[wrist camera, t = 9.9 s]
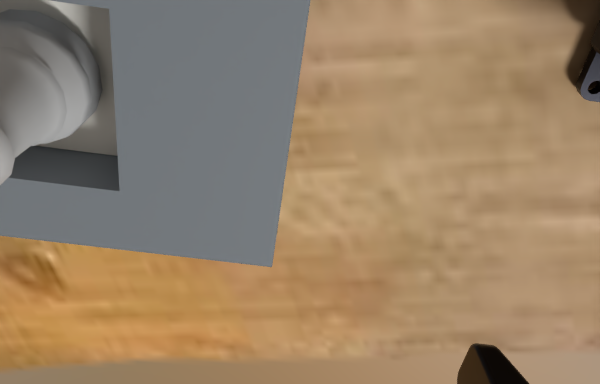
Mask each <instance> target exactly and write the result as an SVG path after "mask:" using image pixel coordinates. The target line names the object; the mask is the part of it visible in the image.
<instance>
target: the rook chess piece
mask: <svg viewBox="0 0 600 384" xmlns="http://www.w3.org/2000/svg"><path fill="white" fill-rule="evenodd" d="M102 90H103V89H102V83H101V76H100V69H99V65H98V64H97V62H96V60H95V58H94V57H93V55H92V53H91V51H90V50H89V48H88V46H87V44H86V43H85V42H84V41H83V40H82V39H81V38H80V37H79V36H78V35H76V34H75V33H74V32H73V31H72V30H71V29H70V28H69V27H68V26H66V25H65V24H64V23H63V22H60V21H58V20H56V19H54V18H51V17H49V16H47V15H45V14H42V13H40V12H38V11H29V10H14V9H9V10H6V11H3V12H1V13H0V185H1V184H2V183H3V182H4V181H5V180H6V179H7V178H8V177H9V176H10V175H11V174H12V169H13V165H14V161H15V158H16V157H17V156H18V155H20V154H21V153H22V152H24V151H25V150H26V149H27V148H29V147H30V146H35V145H38V144H47V143H50V142H53V141H56V140H59V139H63V138H66V137H68V136H70V135H72V134H73V133H74V132H75V131H76V130H77V129H78V128H79V127H80V126H81V125H82V124H83V123H84V122H85V121H86V120H87V119H88V118H89V117H90V116H91V115H92V114H93V113H94V112H95V111H96V110H97V106H98V103H99V100H100V97H101V93H102Z"/></svg>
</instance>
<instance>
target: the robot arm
mask: <svg viewBox="0 0 600 384" xmlns="http://www.w3.org/2000/svg"><path fill="white" fill-rule="evenodd" d="M591 44H592V46H593V47H592V49H591V51H590V53H589V55H588V58H587V60H586V62H585V64H584V67H583V69H582V71H581V73H580V76H579V78H578V80H577V84H576V89H577V91H578V92H579V93H580V95H581V96H582V97H583V98H584V99H586V100H589V101H596V102H600V21H599V23H598V25H597V28H596V30H595V32H594V35H593V37H592V39H591ZM594 81H598V84H597V86H596V87H595V88H593V89H589V90H588V86H589V85H590V84H591V83H592V82H594ZM457 384H529V383H528V382H527V381H526V380H525V378H524V377H523V376H522V375H521V374H520V373H519V372H518V370H517V369H516V368H515V367H514V366H513V365H512V364H511V362H510V361H509V360H508V359H507V358H506V357H505V356H504V354H503V353H502V352H501V351H500V350H499V349H498V348H497V347H495V346H493V345H487V344H478V343H475V344H473V345H471V346H470V348H469V350H468V352H467V354H466V356H465V359H464V361H463V363H462V365H461V367H460V369H459V372H458V378H457Z"/></svg>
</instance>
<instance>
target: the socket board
mask: <svg viewBox="0 0 600 384" xmlns="http://www.w3.org/2000/svg"><path fill="white" fill-rule="evenodd" d="M309 6H310V0H0V13H1V12H3V11H6V10H9V9H14V10H29V11H38V12H40V13H42V14H45V15H47V16H49V17H51V18H54V19H56V20H58V21H60V22H63V23H64V24H65V25H66V26H68V27H69V28H70V29H71V30H72V31H73V32H74V33H75V34H76V35H78V36H79V37H80V38H81V39H82V40H83V41H84V42H85V43H86V44H87V46H88V48H89V50H90V51H91V53H92V55H93V57H94V58H95V60H96V62H97V64H98V65H99V69H100V76H101V83H102V89H103V90H102V93H101V97H100V100H99V103H98V106H97V110H96V111H95V112H94V113H93V114H92V115H91V116H90V117H89V118H88V119H87V120H86V121H85V122H84V123H83V124H82V125H81V126H80V127H79V128H78V129H77V130H76V131H75V132H74V133H73V134H72V135H70V136H68V137H66V138H63V139H59V140H56V141H53V142H50V143H47V144H38V145H35V146H30V147H29V148H27V149H26V150H25V151H24V152H22V153H21V154H20V155H18V156H17V157H16V158H15V161H14V165H13V169H12V174H11V175H10V176H9V177H8V178H7V179H6V180H5V181H4V182H3V183H2V184H1V185H0V236H9V237H17V238H26V239H34V240H43V241H52V242H60V243H69V244H78V245H86V246H95V247H103V248H112V249H121V250H129V251H138V252H146V253H155V254H164V255H172V256H181V257H190V258H198V259H207V260H215V261H224V262H233V263H241V264H250V265H258V266H267V267H272V263H273V256H274V249H275V242H276V235H277V228H278V221H279V214H280V207H281V200H282V193H283V186H284V179H285V172H286V165H287V158H288V151H289V145H290V138H291V131H292V124H293V117H294V110H295V103H296V96H297V89H298V82H299V75H300V68H301V61H302V54H303V47H304V40H305V34H306V27H307V20H308V13H309Z"/></svg>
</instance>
